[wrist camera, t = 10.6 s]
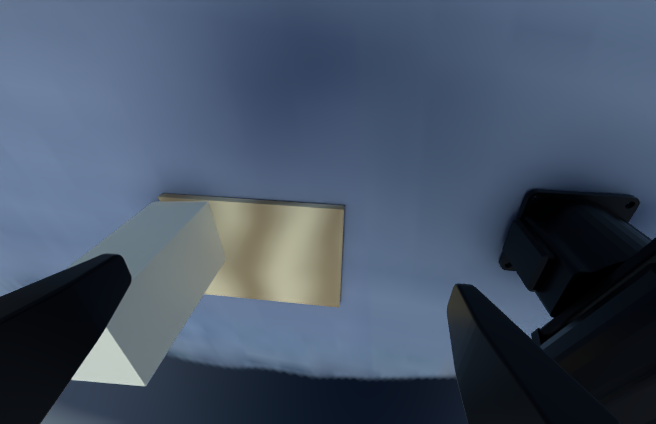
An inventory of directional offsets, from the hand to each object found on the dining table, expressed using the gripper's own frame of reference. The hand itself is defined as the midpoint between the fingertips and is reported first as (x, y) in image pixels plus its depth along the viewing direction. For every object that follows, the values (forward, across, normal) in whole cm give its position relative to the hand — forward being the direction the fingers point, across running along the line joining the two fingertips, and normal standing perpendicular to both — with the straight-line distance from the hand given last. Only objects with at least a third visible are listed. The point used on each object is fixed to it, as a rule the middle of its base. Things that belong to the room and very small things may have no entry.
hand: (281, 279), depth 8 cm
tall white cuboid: (+12, +11, +8) cm, 18 cm away
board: (+13, +6, +10) cm, 17 cm away
